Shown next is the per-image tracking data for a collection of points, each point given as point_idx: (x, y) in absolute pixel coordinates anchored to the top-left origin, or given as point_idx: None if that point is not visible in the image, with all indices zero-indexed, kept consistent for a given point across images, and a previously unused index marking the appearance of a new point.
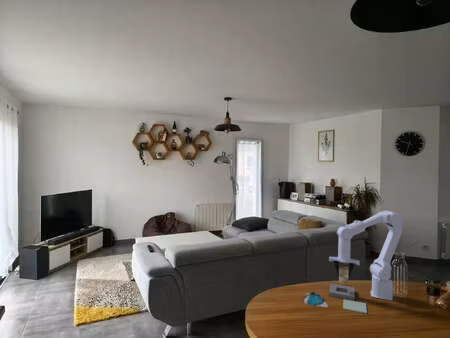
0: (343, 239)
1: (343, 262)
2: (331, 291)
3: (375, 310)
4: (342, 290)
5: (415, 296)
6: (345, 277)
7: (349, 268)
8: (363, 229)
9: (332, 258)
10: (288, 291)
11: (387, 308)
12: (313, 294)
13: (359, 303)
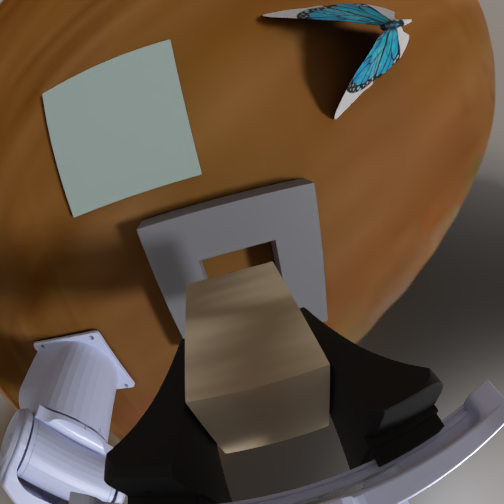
0: None
1: (300, 491)
2: (301, 207)
3: (23, 176)
4: None
5: None
6: (216, 315)
7: (171, 432)
8: None
9: (486, 435)
10: (463, 122)
11: (4, 248)
12: (378, 22)
13: (98, 186)
